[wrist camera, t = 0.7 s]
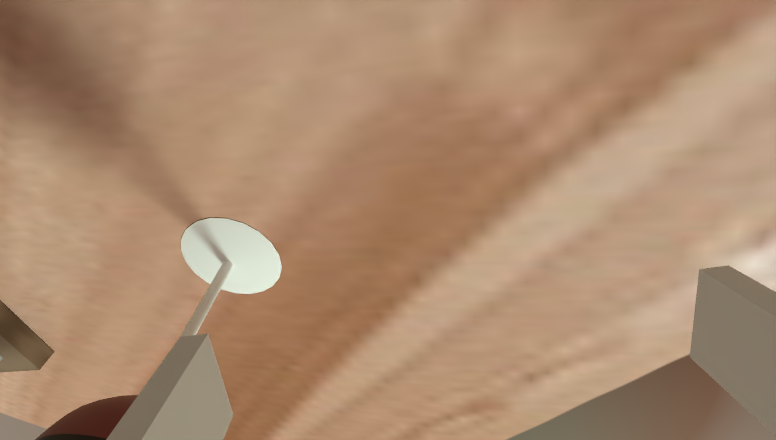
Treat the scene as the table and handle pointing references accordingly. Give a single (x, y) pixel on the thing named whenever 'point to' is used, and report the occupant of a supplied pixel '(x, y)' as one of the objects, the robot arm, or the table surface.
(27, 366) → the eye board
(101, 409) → the wineglass
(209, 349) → the robot arm
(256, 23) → the table surface
